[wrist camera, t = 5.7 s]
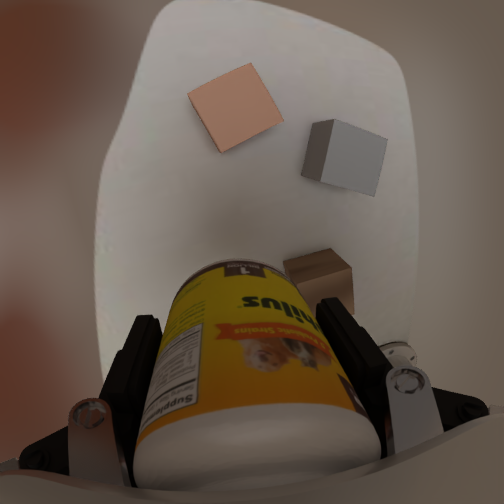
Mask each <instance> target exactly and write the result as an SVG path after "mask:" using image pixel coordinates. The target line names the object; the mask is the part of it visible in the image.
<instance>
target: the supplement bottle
mask: <svg viewBox="0 0 504 504" xmlns="http://www.w3.org/2000/svg"><path fill="white" fill-rule="evenodd" d="M380 458H381V444H380V440H379V437H378V435H377V433H376V431H375V428H374V426H373V424H372V422H371V420H370V418H369V416H368V415H367V413H366V411H365V409H364V407H363V406H362V404H361V402H360V400H359V398H358V396H357V394H356V392H355V390H354V388H353V386H352V385H351V383H350V381H349V379H348V377H347V375H346V374H345V372H344V370H343V368H342V366H341V364H340V363H339V361H338V359H337V357H336V355H335V353H334V351H333V350H332V348H331V346H330V344H329V343H328V341H327V339H326V337H325V335H324V333H323V331H322V330H321V328H320V326H319V324H318V323H317V321H316V319H315V317H314V316H313V314H312V312H311V310H310V308H309V306H308V305H307V303H306V301H305V300H304V298H303V296H302V294H301V293H300V291H299V290H298V288H297V287H296V285H295V284H294V283H293V282H292V281H291V280H290V278H288V277H287V276H286V275H285V274H284V273H282V272H281V271H279V270H278V269H276V268H274V267H273V266H270V265H268V264H265V263H263V262H259V261H255V260H250V259H228V260H223V261H219V262H215V263H213V264H210V265H208V266H206V267H204V268H202V269H200V270H198V271H197V272H196V273H194V274H193V275H192V276H191V277H189V278H188V279H187V280H186V281H185V282H184V284H183V285H182V286H181V288H180V289H179V291H178V292H177V294H176V296H175V298H174V300H173V303H172V306H171V309H170V311H169V316H168V319H167V323H166V326H165V330H164V333H163V336H162V340H161V344H160V347H159V351H158V355H157V358H156V362H155V366H154V370H153V374H152V378H151V382H150V386H149V390H148V394H147V398H146V402H145V407H144V411H143V415H142V420H141V425H140V429H139V434H138V438H137V444H136V448H135V454H134V462H133V474H134V479H135V482H136V485H137V487H138V488H141V489H151V490H164V491H188V492H206V491H232V490H245V489H255V488H264V487H271V486H278V485H285V484H291V483H296V482H301V481H306V480H311V479H316V478H320V477H324V476H328V475H332V474H336V473H340V472H343V471H347V470H350V469H354V468H357V467H360V466H363V465H366V464H369V463H372V462H375V461H378V460H380Z"/></svg>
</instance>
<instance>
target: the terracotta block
mask: <svg viewBox="0 0 504 504" xmlns="http://www.w3.org/2000/svg"><path fill="white" fill-rule="evenodd" d="M187 95H188V97H189V99H190V101H191V103H192V105H193V107H194V109H195V110H196V112H197V114H198V116H199V117H200V119H201V121H202V123H203V124H204V126H205V128H206V129H207V131H208V133H209V135H210V136H211V138H212V140H213V142H214V143H215V145H216V147H217V148H218V150H219V152H220V153H222V152H224V151H226V150H228V149H230V148H232V147H233V146H235V145H237V144H239V143H241V142H243V141H245V140H247V139H249V138H250V137H252V136H254V135H256V134H258V133H260V132H262V131H264V130H266V129H268V128H270V127H272V126H274V125H276V124H279V123H281V122H283V121H284V119H283V118H282V116H281V114H280V112H279V110H278V108H277V107H276V105H275V103H274V101H273V99H272V98H271V96H270V94H269V92H268V90H267V89H266V87H265V85H264V84H263V82H262V80H261V78H260V77H259V75H258V73H257V72H256V70H255V68H254V67H253V65H252V63H249V64H246V65H244V66H242V67H240V68H237V69H235V70H233V71H231V72H229V73H226V74H224V75H222V76H220V77H218V78H216V79H214V80H212V81H210V82H208V83H206V84H204V85H202V86H200V87H198V88H197V89H195V90H193V91H191V92H189V93H187Z"/></svg>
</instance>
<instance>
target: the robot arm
mask: <svg viewBox="0 0 504 504" xmlns="http://www.w3.org/2000/svg"><path fill="white" fill-rule="evenodd" d="M315 319H316V321H317V323H318V324H319V326H320V328H321V330H322V331H323V333H324V335H325V337H326V339H327V341H328V343H329V344H330V346H331V348H332V350H333V351H334V353H335V355H336V357H337V359H338V361H339V363H340V364H341V366H342V368H343V370H344V372H345V374H346V375H347V377H348V379H349V381H350V383H351V385H352V386H353V388H354V390H355V392H356V394H357V396H358V398H359V400H360V402H361V404H362V406H363V407H364V409H365V411H366V413H367V415H368V416H369V418H370V420H371V422H372V424H373V426H374V428H375V431H376V433H377V435H378V437H379V440H380V444H381V458H380V460H378V461H375V462H372V463H369V464H366V465H363V466H360V467H357V468H354V469H350V470H347V471H343V472H340V473H336V474H332V475H328V476H324V477H320V478H316V479H311V480H306V481H301V482H296V483H291V484H285V485H278V486H271V487H264V488H255V489H245V490H232V491H206V492H188V491H164V490H151V489H141V488H138V487H137V485H136V482H135V479H134V474H133V462H134V454H135V448H136V444H137V438H138V434H139V429H140V425H141V420H142V415H143V411H144V407H145V402H146V398H147V394H148V390H149V386H150V382H151V378H152V374H153V370H154V366H155V362H156V358H157V355H158V351H159V347H160V344H161V340H162V336H163V335H162V331H161V327H160V323H159V320H158V318H154V317H153V315H138V316H137V317H136V319H135V321H134V323H133V325H132V328H131V330H130V332H129V335H128V337H127V339H126V342H125V344H124V346H123V349H122V350H119V351H118V352H117V354H116V356H115V358H114V361H113V363H112V365H111V368H110V370H109V373H108V375H107V378H106V380H105V383H104V385H103V388H102V390H101V393H100V395H99V398H87V399H84V400H81V401H79V402H78V403H76V404H75V405H74V406H73V407H72V408H71V410H70V412H69V417H68V426H66V427H64V428H62V429H60V430H58V431H57V432H55V433H53V434H51V435H49V436H47V437H45V438H43V439H41V440H39V441H37V442H35V443H33V444H31V445H29V446H27V447H26V448H25V449H24V450H23V451H22V453H21V455H20V457H19V460H17V459H16V458H12V459H10V460H8V461H5V462H2V463H0V504H504V407H502V406H495V405H490V406H489V408H487V406H486V405H485V403H484V402H483V401H481V400H480V399H478V398H475V397H472V396H467V395H463V394H458V393H454V392H449V391H446V390H442V389H437V388H433V387H431V384H430V381H429V378H428V377H427V375H426V374H425V373H424V372H423V371H422V370H420V369H419V368H417V367H415V366H416V362H417V356H416V353H415V351H414V350H413V349H412V348H411V347H410V346H409V345H408V344H406V343H392V344H388V345H385V346H383V347H380V348H379V347H378V346H377V344H376V343H375V342H374V340H373V339H372V338H371V337H370V335H369V334H368V333H367V331H366V330H365V329H364V328H363V327H360V326H359V325H358V323H357V322H356V321H355V319H354V318H353V317H352V316H351V314H350V313H349V312H348V310H347V309H346V308H345V306H344V305H343V304H342V303H341V301H340V300H339V299H338V298H337V297H331V298H324V299H322V300H321V303H317V305H316V318H315Z"/></svg>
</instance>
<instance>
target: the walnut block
mask: <svg viewBox="0 0 504 504" xmlns="http://www.w3.org/2000/svg"><path fill="white" fill-rule="evenodd" d="M283 263H284V268H285V273H286V276H287V277H288V278H290V280H291V281H292V282H293V283H294V284H295V285H296V287H297V288H298V290H299V291H300V293H301V294H302V296H303V298H304V300H305V301H306V303H307V305H308V306H309V308H310V310H311V312H312V314H313V316H314V317H315V318H316V305H317V303H321V300H322V299H324V298H331V297H337V298H338V299H339V300H340V301H341V303H342V304H343V305H344V306H345V308H346V309H347V310H348V312H349V313H350V314H351V315H354V295H353V280H352V268H351V267H350V266H349V265H348V264H347V263H346V262H345V261H344V260H343V259H342V258H341V257H340V256H339V255H337V254H336V253H335V252H334V251H333V250H332V249H331V248H329V249H326V250H322V251H319V252H315V253H312V254H308V255H304V256H301V257H297V258H294V259H290V260H286V261H283Z"/></svg>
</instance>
